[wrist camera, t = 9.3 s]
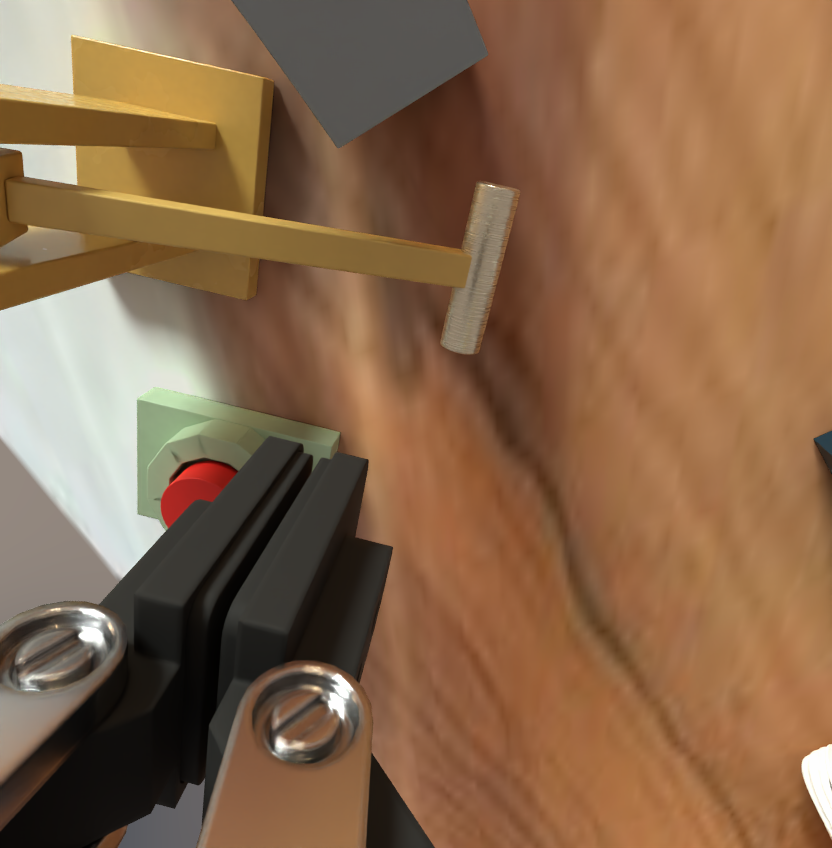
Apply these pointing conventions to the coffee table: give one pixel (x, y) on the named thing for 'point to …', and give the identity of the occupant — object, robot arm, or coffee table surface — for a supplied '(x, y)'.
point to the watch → (825, 448)
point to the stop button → (194, 487)
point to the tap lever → (279, 238)
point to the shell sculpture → (820, 782)
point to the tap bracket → (141, 164)
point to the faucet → (365, 53)
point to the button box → (206, 439)
